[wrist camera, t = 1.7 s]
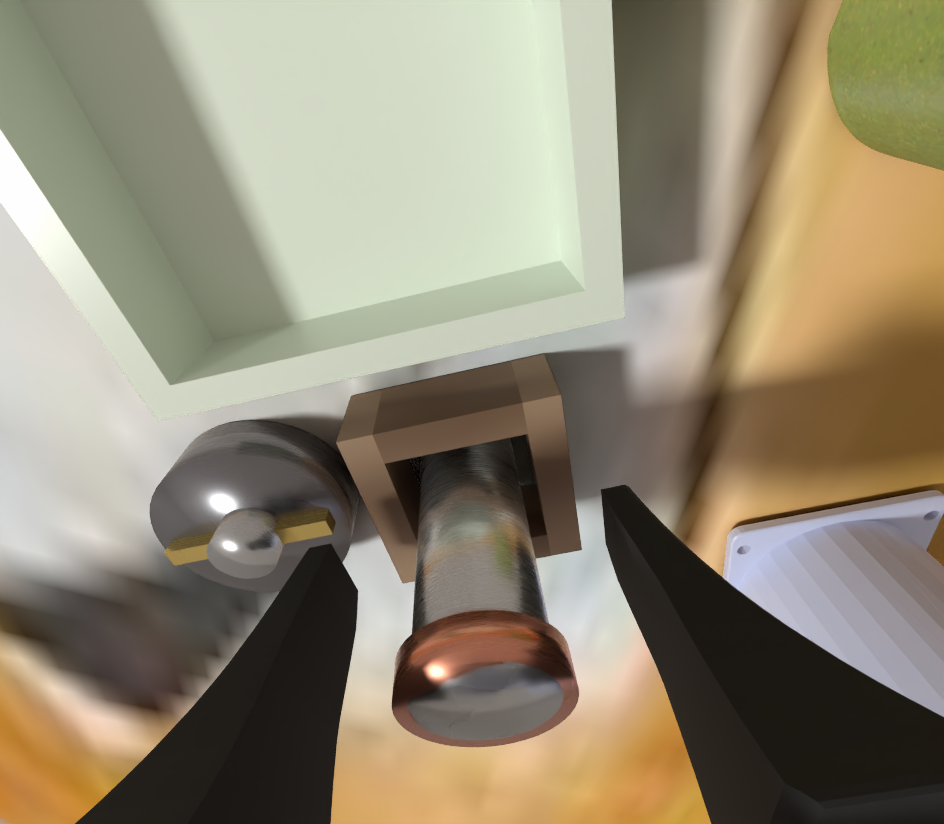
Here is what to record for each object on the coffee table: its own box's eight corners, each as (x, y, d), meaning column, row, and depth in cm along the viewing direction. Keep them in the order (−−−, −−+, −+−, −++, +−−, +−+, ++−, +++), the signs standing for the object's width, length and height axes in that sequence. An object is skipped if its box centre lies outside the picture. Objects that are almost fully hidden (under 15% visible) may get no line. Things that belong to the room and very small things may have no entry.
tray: (588, 276, 13) (624, 317, 10) (210, 363, 13) (157, 421, 11) (528, -457, 7) (579, -794, 4) (-138, -226, 8) (-426, -393, 5)
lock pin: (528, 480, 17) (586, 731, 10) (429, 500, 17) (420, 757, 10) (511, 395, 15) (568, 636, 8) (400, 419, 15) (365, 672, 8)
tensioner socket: (565, 498, 17) (581, 549, 15) (407, 529, 18) (402, 583, 16) (543, 353, 14) (561, 394, 12) (351, 396, 14) (335, 442, 12)
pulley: (381, 534, 18) (372, 599, 15) (232, 563, 18) (200, 631, 16) (320, 402, 14) (295, 459, 12) (140, 442, 15) (83, 504, 12)
